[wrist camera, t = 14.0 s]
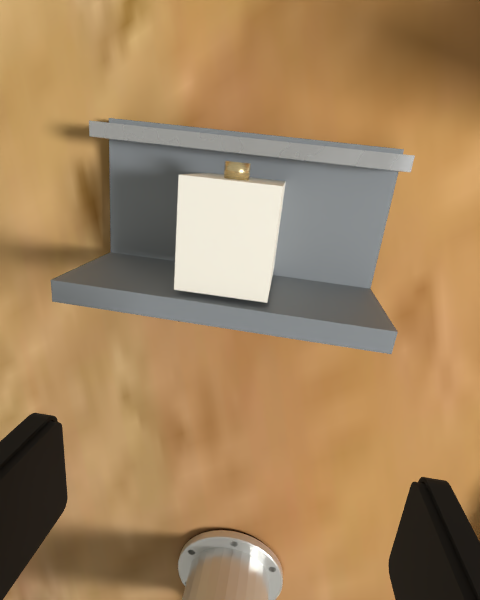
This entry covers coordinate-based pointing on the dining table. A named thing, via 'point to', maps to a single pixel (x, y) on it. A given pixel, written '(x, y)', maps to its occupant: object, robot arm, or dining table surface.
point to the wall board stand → (291, 240)
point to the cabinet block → (227, 233)
